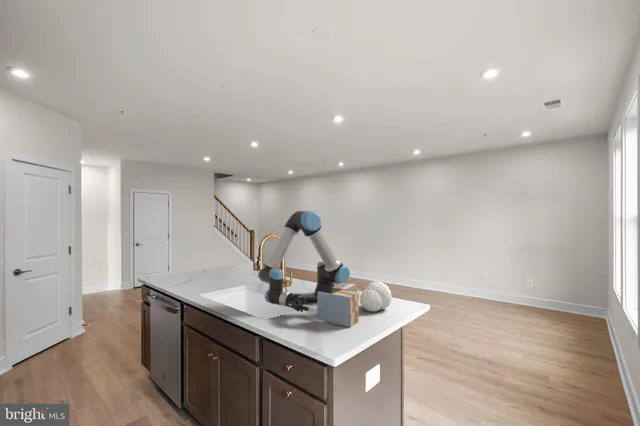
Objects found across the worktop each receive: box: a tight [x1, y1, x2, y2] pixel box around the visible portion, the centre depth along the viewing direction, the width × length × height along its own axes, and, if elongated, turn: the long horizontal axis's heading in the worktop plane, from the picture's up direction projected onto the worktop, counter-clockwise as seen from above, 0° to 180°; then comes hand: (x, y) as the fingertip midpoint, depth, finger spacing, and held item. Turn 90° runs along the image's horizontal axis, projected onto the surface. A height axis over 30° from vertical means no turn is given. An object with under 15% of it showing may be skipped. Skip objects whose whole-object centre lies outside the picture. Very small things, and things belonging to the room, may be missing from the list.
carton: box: [331, 290, 360, 328], centre depth 154 cm, size 10×10×15 cm
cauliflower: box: [359, 281, 393, 313], centre depth 176 cm, size 20×18×16 cm
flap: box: [316, 292, 349, 326], centre depth 152 cm, size 1×18×14 cm, turn 58°
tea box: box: [332, 282, 358, 294], centre depth 172 cm, size 15×10×15 cm, turn 153°
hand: (321, 306), depth 155 cm, fingers open, 13 cm apart
